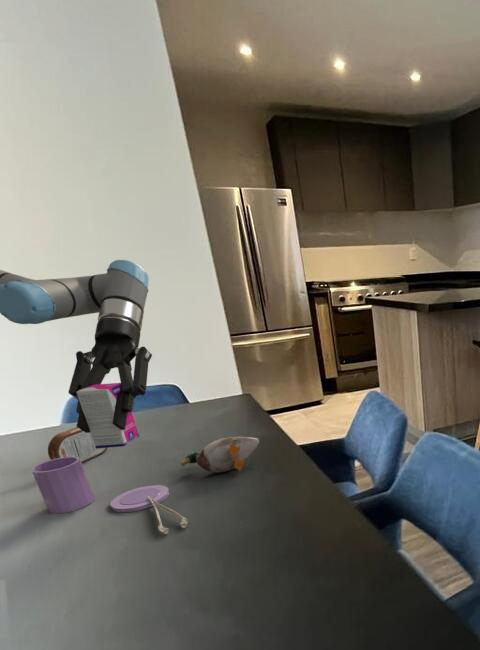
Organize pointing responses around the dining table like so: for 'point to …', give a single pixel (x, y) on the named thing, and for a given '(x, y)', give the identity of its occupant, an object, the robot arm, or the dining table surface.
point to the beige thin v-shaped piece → (171, 512)
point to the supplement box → (105, 416)
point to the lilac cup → (63, 484)
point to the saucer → (139, 498)
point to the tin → (73, 445)
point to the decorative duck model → (224, 454)
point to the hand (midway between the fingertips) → (101, 427)
